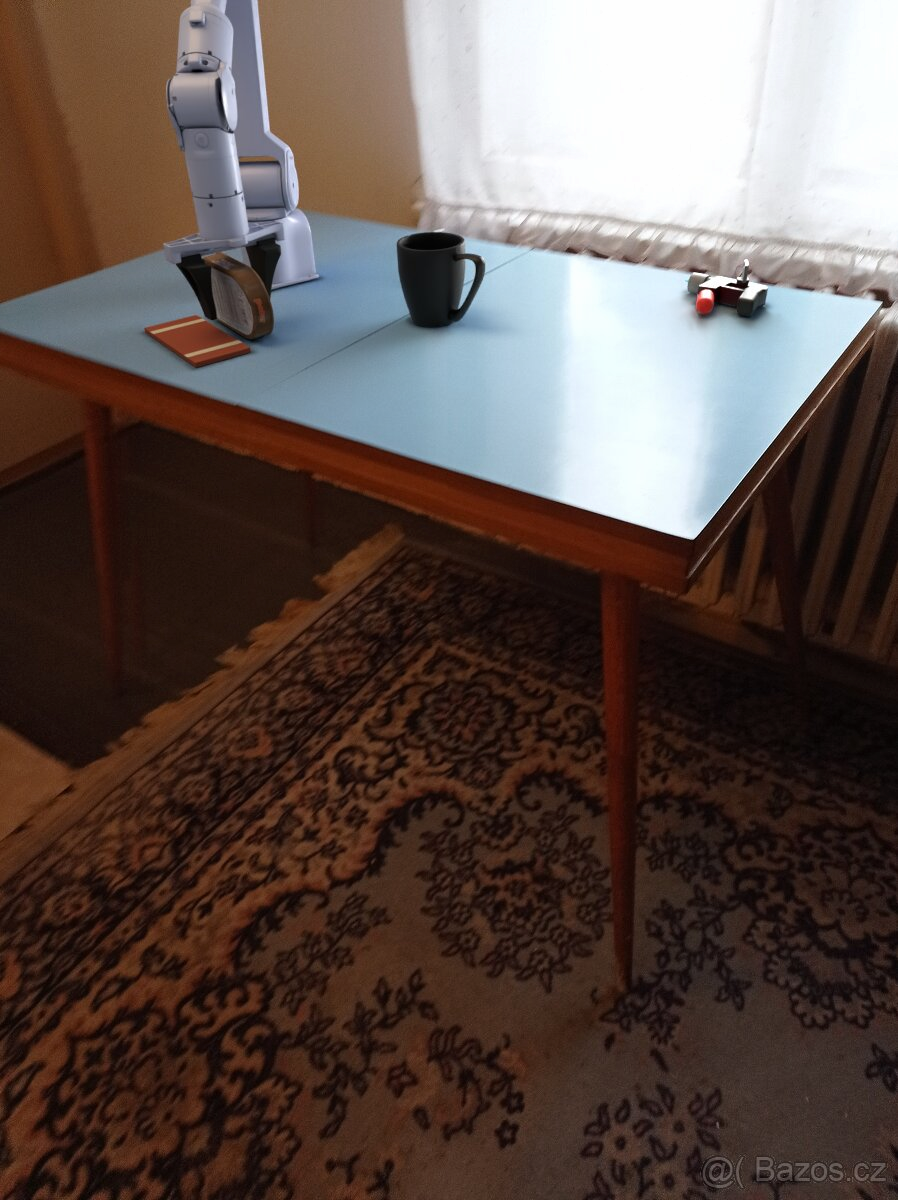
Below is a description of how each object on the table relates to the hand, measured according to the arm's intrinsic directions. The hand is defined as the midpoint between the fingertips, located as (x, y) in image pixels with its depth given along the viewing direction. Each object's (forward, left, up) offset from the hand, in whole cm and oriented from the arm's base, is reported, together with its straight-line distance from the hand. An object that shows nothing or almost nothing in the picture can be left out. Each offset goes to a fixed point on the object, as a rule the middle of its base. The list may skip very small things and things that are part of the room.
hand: (237, 311), depth 111 cm
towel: (+6, 0, -2) cm, 6 cm away
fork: (-36, -7, -3) cm, 36 cm away
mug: (-21, +15, -3) cm, 26 cm away
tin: (0, 0, -3) cm, 3 cm away
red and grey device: (-50, +33, -3) cm, 60 cm away
